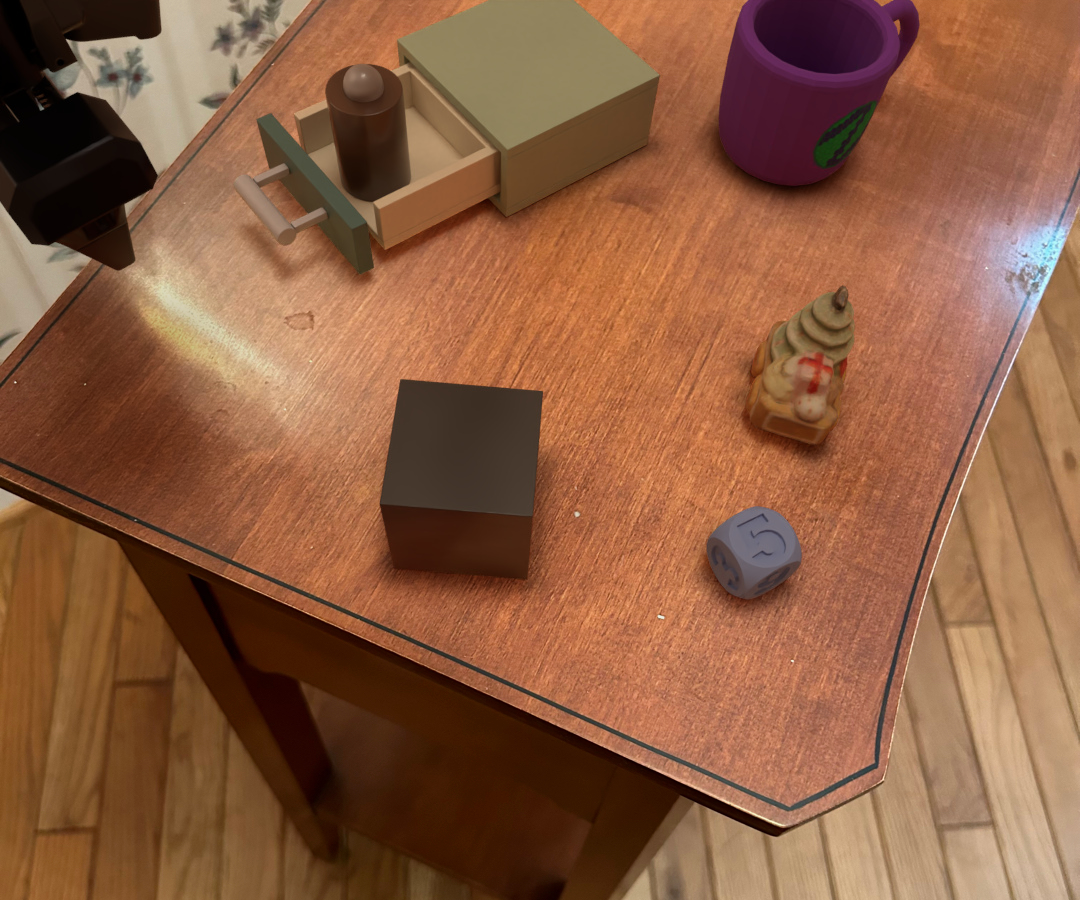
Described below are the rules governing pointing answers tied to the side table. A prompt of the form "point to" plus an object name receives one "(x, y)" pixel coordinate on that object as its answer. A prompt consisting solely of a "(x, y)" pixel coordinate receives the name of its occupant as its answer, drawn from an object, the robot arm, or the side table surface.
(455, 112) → the drawer
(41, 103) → the robot arm
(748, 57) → the mug
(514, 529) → the block
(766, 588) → the decorative dice
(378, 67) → the pepper mill
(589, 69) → the cabinet
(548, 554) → the side table surface
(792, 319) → the ornament
